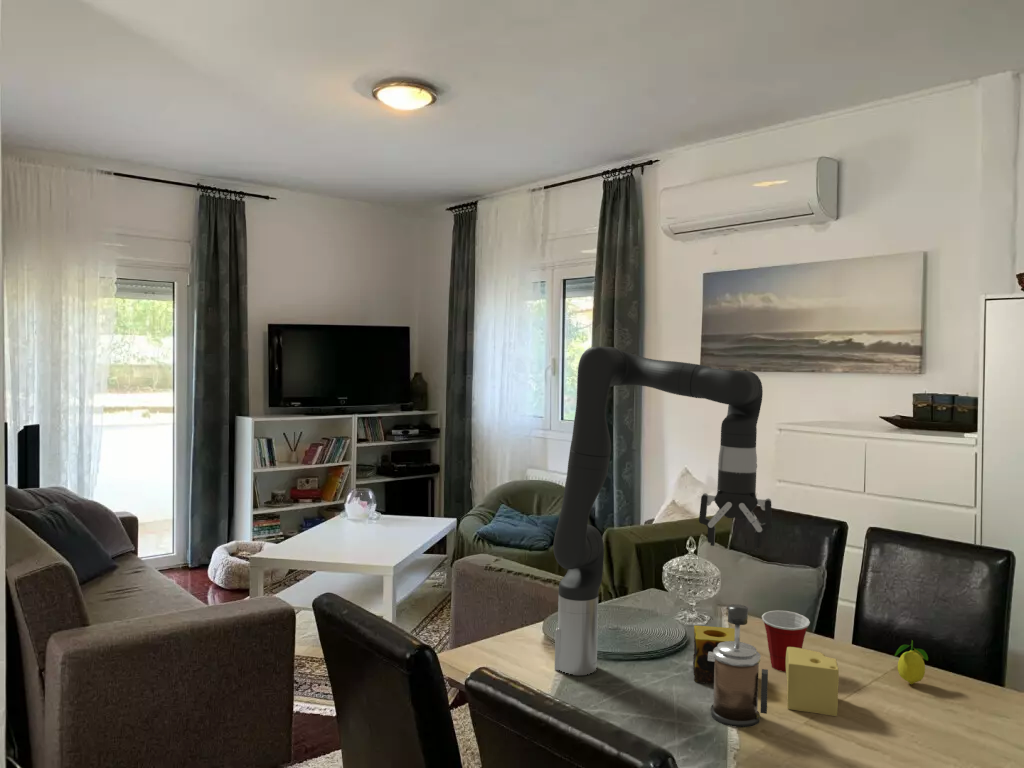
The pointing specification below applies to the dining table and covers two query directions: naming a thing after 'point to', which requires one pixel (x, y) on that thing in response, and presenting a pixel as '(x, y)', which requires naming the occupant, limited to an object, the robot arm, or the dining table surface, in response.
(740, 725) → the carafe
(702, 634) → the yellow patterned cube
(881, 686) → the dining table surface
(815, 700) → the cheese
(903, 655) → the lemon
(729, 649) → the plunger
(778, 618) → the plastic cup
